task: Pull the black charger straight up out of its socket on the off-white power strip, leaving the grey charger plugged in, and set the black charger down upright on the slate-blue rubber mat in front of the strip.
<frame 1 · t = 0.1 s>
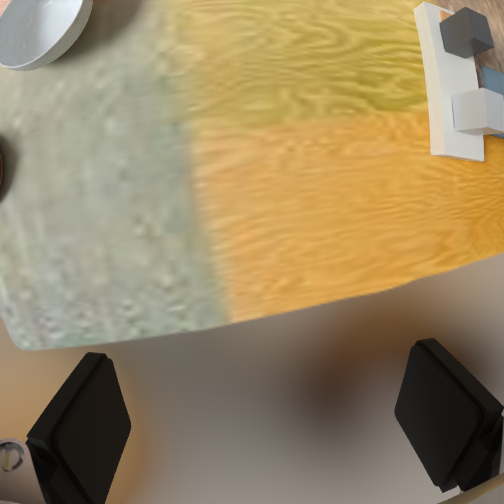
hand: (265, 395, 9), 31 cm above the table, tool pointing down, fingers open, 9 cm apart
power strip: (445, 81, 35), on the table
black charger: (447, 43, 31), point 2 cm above the table, touching power strip
grey charger: (457, 117, 34), point 2 cm above the table, touching power strip
cereal bowl: (57, 30, 31), on the table
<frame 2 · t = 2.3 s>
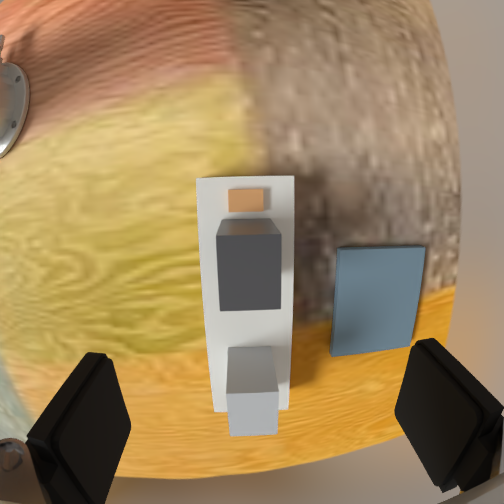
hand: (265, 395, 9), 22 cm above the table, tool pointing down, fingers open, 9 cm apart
power strip: (247, 299, 31), on the table
black charger: (246, 244, 28), point 2 cm above the table, touching power strip
mat: (376, 300, 32), on the table
grey charger: (249, 360, 31), point 2 cm above the table, touching power strip
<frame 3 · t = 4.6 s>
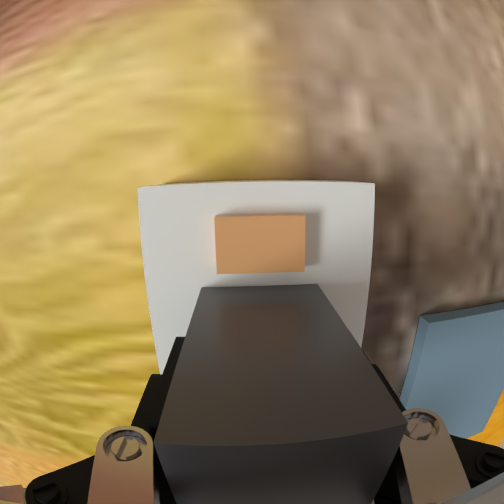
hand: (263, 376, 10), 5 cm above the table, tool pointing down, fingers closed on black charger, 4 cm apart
power strip: (257, 405, 16), on the table
black charger: (258, 331, 13), point 2 cm above the table, touching gripper, power strip
mat: (458, 384, 17), on the table
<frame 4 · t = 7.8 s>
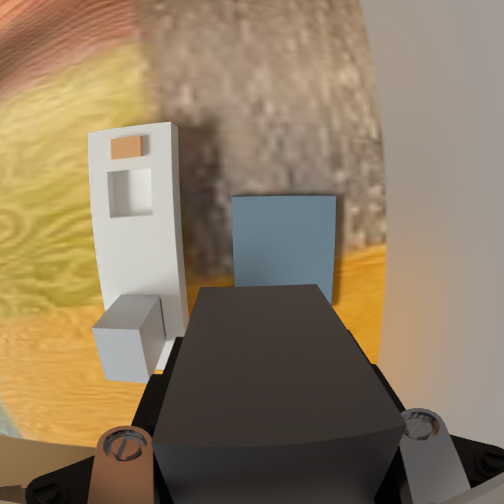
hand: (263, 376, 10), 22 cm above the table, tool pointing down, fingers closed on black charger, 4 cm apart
power strip: (145, 250, 31), on the table
black charger: (257, 331, 13), point 19 cm above the table, touching gripper
mat: (283, 255, 32), on the table
grey charger: (146, 312, 30), point 2 cm above the table, touching power strip
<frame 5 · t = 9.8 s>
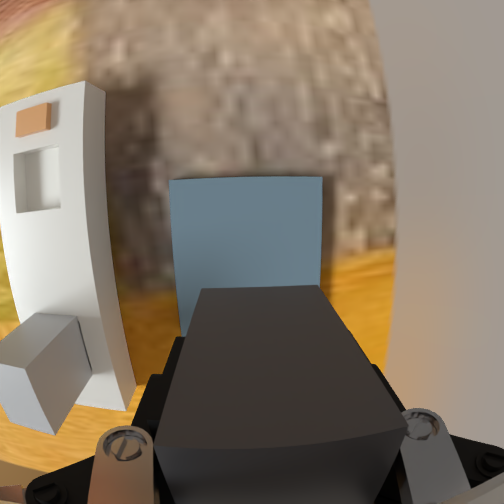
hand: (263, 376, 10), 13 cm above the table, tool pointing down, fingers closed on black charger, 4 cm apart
power strip: (67, 254, 21), on the table
black charger: (258, 332, 13), point 10 cm above the table, touching gripper
mat: (247, 263, 22), on the table
grey charger: (70, 336, 21), point 2 cm above the table, touching power strip
when the fingers open (5 cm above the table, at t = 11.5 s): black charger drops 1 cm, resting on mat.
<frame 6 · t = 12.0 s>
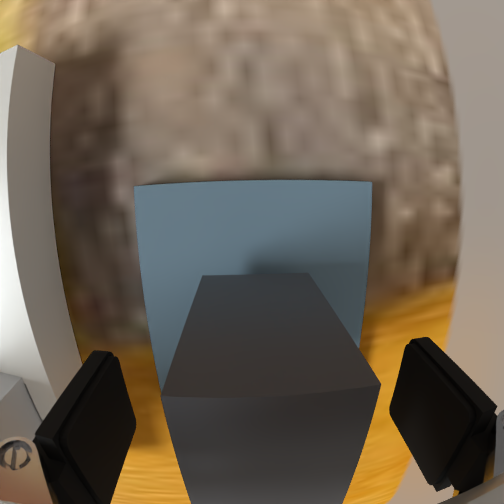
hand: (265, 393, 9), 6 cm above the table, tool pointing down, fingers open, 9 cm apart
power strip: (12, 289, 14), on the table
black charger: (254, 318, 14), point 1 cm above the table, touching mat
mat: (256, 310, 15), on the table
grey charger: (24, 393, 14), point 2 cm above the table, touching power strip
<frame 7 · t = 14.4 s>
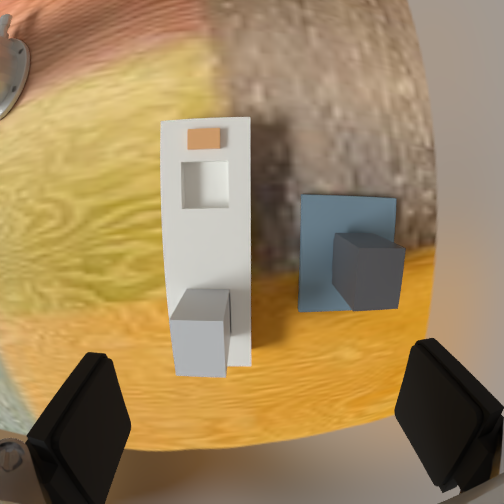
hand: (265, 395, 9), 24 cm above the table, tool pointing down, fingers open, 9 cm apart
power strip: (210, 244, 32), on the table
black charger: (348, 255, 31), point 1 cm above the table, touching mat
mat: (346, 253, 32), on the table
grey charger: (210, 307, 31), point 2 cm above the table, touching power strip
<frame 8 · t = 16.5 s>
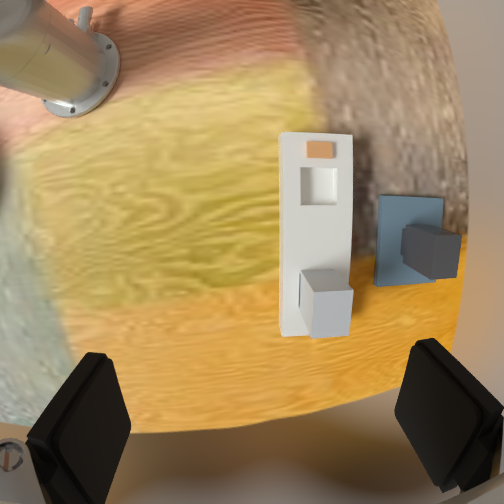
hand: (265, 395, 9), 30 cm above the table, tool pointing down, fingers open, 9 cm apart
power strip: (311, 234, 39), on the table
black charger: (411, 241, 38), point 1 cm above the table, touching mat
mat: (408, 240, 39), on the table
grey charger: (313, 286, 38), point 2 cm above the table, touching power strip
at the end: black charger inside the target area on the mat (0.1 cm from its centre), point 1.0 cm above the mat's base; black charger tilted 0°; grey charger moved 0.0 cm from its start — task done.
